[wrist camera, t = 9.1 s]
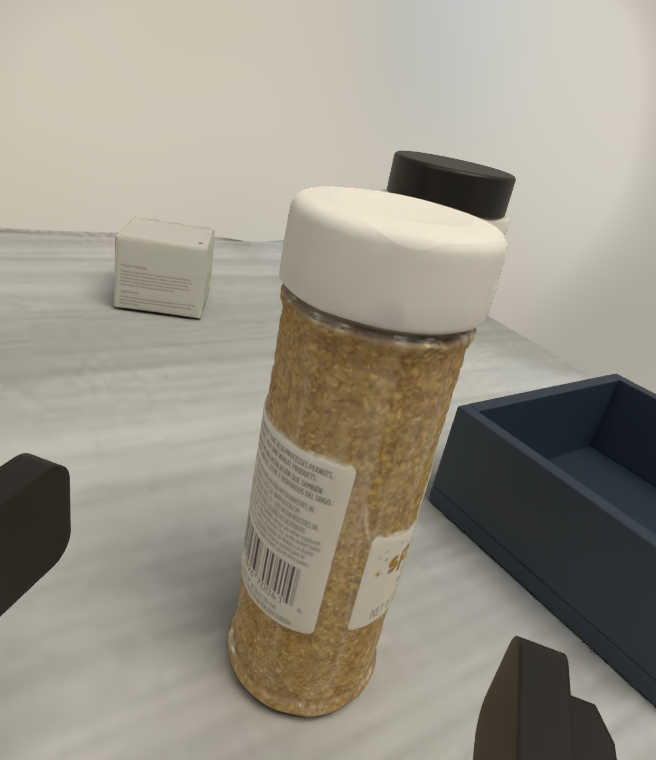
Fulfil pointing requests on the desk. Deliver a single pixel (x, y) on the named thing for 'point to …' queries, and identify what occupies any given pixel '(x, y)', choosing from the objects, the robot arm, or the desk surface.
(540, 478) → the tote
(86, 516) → the desk surface
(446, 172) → the jar
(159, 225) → the small box
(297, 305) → the sprinkles bottle
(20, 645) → the desk surface
